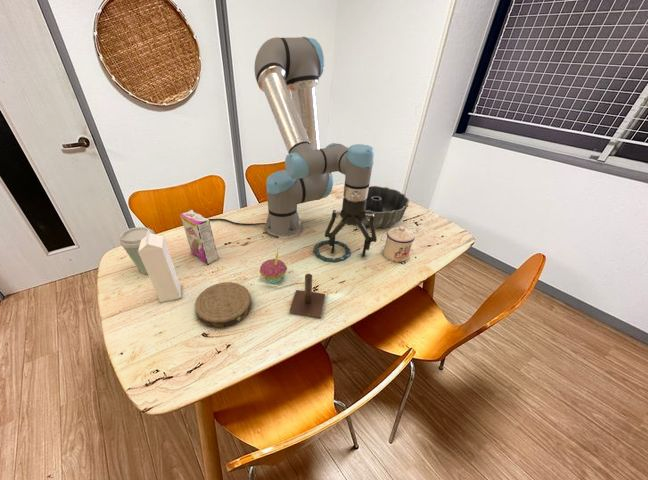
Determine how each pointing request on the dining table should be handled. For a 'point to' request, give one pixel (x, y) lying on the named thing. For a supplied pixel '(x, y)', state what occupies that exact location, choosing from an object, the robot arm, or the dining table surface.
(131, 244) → the disposable coffee cup
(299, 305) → the post
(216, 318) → the wood slice
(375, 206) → the bundt pan
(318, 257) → the ring
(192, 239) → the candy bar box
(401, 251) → the teacup with lid
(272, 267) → the cupcake
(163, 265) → the milk
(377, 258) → the dining table surface
